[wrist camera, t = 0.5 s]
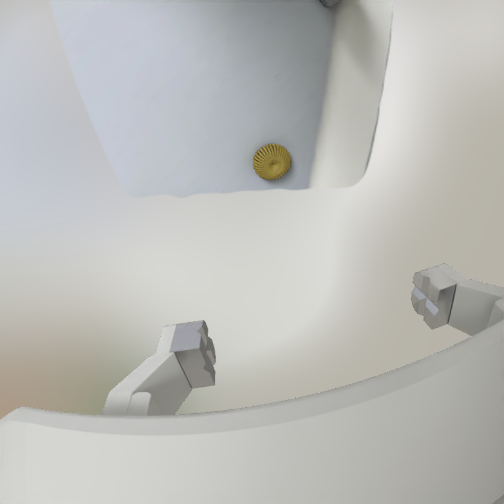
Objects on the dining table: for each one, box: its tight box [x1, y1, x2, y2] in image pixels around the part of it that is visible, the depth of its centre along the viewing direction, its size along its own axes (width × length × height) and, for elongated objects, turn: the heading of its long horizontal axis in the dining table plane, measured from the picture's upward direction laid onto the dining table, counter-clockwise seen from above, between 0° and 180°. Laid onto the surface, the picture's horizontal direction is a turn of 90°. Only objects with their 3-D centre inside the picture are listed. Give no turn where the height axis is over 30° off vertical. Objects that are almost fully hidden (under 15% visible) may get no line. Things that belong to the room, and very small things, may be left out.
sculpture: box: [253, 144, 291, 180], centre depth 58 cm, size 8×4×8 cm
